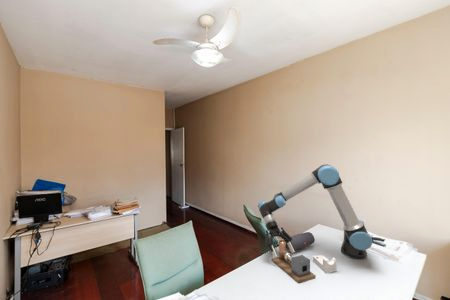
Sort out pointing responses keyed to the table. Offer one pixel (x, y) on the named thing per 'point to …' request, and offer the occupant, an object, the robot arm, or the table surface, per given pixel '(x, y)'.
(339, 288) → the table surface
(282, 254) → the shaft
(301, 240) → the bluetooth speaker
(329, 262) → the bracket
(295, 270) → the bearing block
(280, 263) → the walnut board
